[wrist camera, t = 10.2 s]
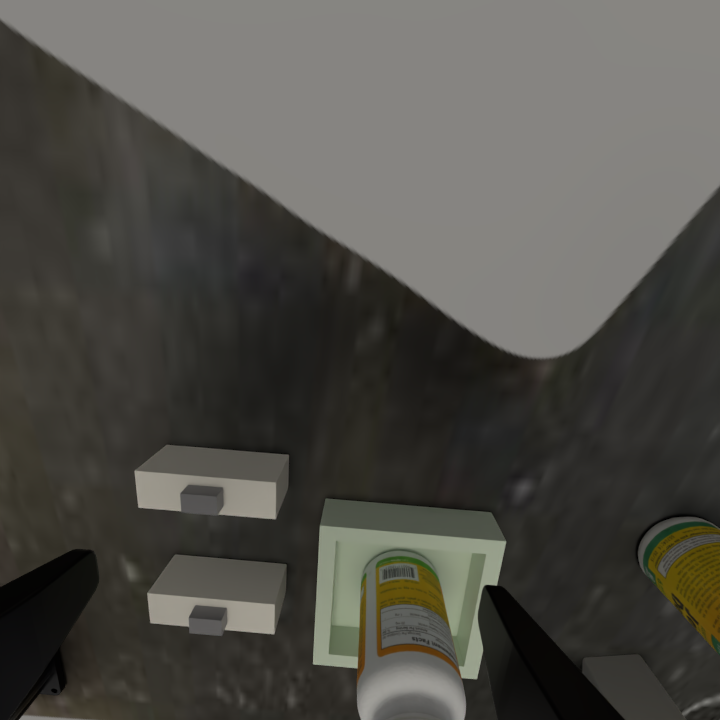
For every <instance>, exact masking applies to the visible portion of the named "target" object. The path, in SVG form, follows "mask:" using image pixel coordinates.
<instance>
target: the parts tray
mask: <svg viewBox="0 0 720 720" xmlns="http://www.w3.org/2000/svg"><path fill="white" fill-rule="evenodd" d="M505 545H506V540H505V538H504V536H503V534H502V532H501V530H500V528H499V526H498V524H497V523H496V521H495V519H494V517H493V515H492V513H491V512H482V511H470V510H458V509H446V508H434V507H422V506H410V505H398V504H387V503H375V502H363V501H351V500H339V499H327V498H326V499H325V504H324V508H323V513H322V518H321V523H320V534H319V554H318V574H317V594H316V614H315V634H314V654H313V664H316V665H327V666H338V667H349V668H358V647H359V623H360V592H361V579H362V575H363V572H364V570H365V569H366V567H367V566H368V564H369V563H370V562H371V561H372V560H373V559H375V558H376V557H377V556H379V555H381V554H384V553H387V552H391V551H407V552H412V553H415V554H417V555H420V556H422V557H423V558H425V559H426V560H427V561H428V562H429V563H430V564H431V565H432V566H433V567H434V569H435V570H436V572H437V575H438V577H439V581H440V585H441V589H442V594H443V598H444V603H445V607H446V612H447V616H448V621H449V625H450V630H451V634H452V639H453V643H454V648H455V652H456V656H457V661H458V665H459V670H460V674H461V678H469V679H477V676H478V672H479V667H480V662H481V658H482V653H483V645H482V640H481V635H480V630H479V625H478V609H479V604H480V599H481V594H482V589H483V587H484V586H485V585H496V586H497V582H498V578H499V573H500V568H501V564H502V559H503V554H504V550H505Z"/></svg>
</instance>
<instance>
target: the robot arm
mask: <svg viewBox="0 0 720 720" xmlns="http://www.w3.org/2000/svg"><path fill="white" fill-rule="evenodd" d="M98 583H99V572H98V565H97V559H96V554H95V552H94V551H92V550H84V549H74V550H72V551H69V552H67V553H65V554H64V555H62V556H60V557H58V558H56V559H54V560H52V561H50V562H48V563H46V564H44V565H42V566H40V567H38V568H36V569H35V570H33V571H31V572H29V573H27V574H25V575H23V576H21V577H19V578H17V579H15V580H13V581H11V582H9V583H7V584H6V585H4V586H2V587H0V720H19V719H20V718H21V716H22V715H23V714H24V713H25V711H26V710H27V709H28V708H29V706H30V705H31V704H32V703H33V701H34V700H35V699H36V698H37V696H38V695H39V694H47V695H59V694H60V693H61V692H62V690H63V689H64V688H65V683H64V678H63V672H62V667H61V662H60V657H59V652H58V649H59V647H60V646H61V644H62V643H63V641H64V639H65V638H66V636H67V635H68V633H69V631H70V630H71V628H72V627H73V625H74V624H75V622H76V620H77V619H78V617H79V616H80V614H81V613H82V611H83V609H84V608H85V606H86V605H87V603H88V602H89V600H90V598H91V597H92V595H93V594H94V592H95V590H96V588H97V586H98ZM478 625H479V630H480V635H481V640H482V645H483V650H484V655H485V660H486V666H487V671H488V676H489V681H490V686H491V691H492V696H493V701H494V705H495V710H496V714H497V718H498V720H625V719H624V718H623V717H622V716H621V715H620V713H619V712H618V711H617V710H616V709H615V708H614V707H613V706H612V705H611V704H610V703H609V701H608V700H607V699H606V698H605V697H604V696H603V695H602V694H601V693H600V692H599V691H598V689H597V688H596V687H595V686H594V685H593V684H592V683H591V682H590V681H589V680H588V679H587V677H586V676H585V675H584V674H583V673H582V672H581V671H580V670H579V669H578V668H577V667H576V665H575V664H574V663H573V662H572V661H571V660H570V659H569V658H568V657H567V656H566V655H565V653H564V652H563V651H562V650H561V649H560V648H559V647H558V646H557V645H556V644H555V643H554V641H553V640H552V639H551V638H550V637H549V636H548V635H547V634H546V633H545V632H544V631H543V629H542V628H541V627H540V626H539V625H538V624H537V623H536V622H535V621H534V620H533V619H532V617H531V616H530V615H529V614H528V613H527V612H526V611H525V610H524V609H523V608H522V607H521V605H520V604H519V603H518V602H517V601H516V600H515V599H514V598H513V597H512V596H511V595H510V593H509V592H508V591H507V590H506V589H505V588H503V587H502V586H496V585H485V586H484V587H483V589H482V594H481V599H480V604H479V609H478Z"/></svg>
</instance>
